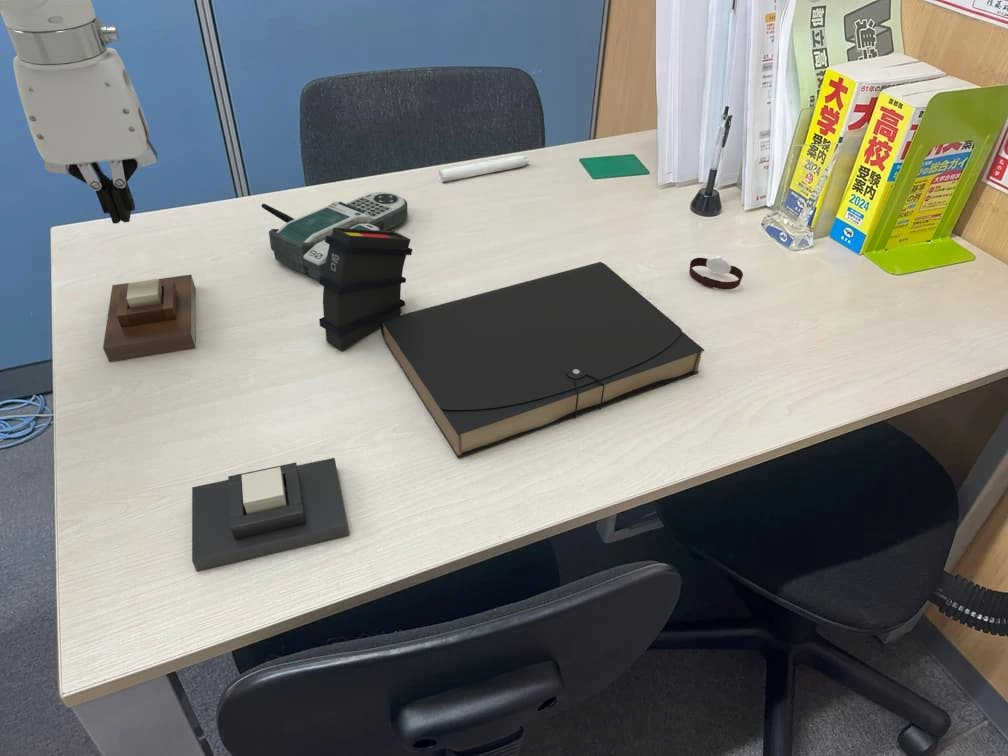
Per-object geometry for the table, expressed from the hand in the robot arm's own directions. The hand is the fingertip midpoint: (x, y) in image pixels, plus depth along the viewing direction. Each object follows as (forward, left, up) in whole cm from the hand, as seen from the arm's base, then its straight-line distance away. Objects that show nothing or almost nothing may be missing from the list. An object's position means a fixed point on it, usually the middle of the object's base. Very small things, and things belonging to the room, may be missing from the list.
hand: (122, 216), depth 79 cm
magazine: (+25, -4, -18) cm, 31 cm away
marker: (+54, +36, -18) cm, 67 cm away
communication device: (+26, +18, -18) cm, 37 cm away
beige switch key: (-2, +4, -14) cm, 14 cm away
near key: (+10, -32, -14) cm, 37 cm away
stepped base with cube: (+10, -32, -17) cm, 38 cm away
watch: (+75, -7, -18) cm, 78 cm away
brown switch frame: (-2, +4, -17) cm, 18 cm away
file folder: (+44, -16, -18) cm, 50 cm away
